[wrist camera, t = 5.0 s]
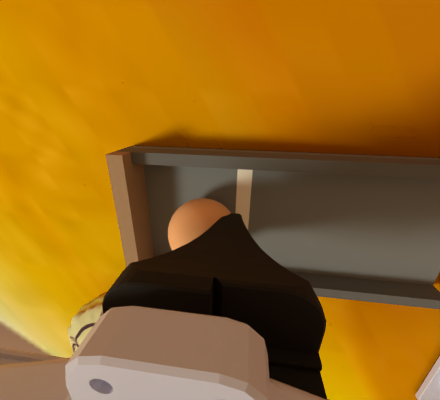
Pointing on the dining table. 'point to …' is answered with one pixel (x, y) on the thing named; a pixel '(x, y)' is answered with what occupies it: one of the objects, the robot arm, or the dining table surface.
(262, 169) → the lane
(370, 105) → the dining table surface
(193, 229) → the ball
